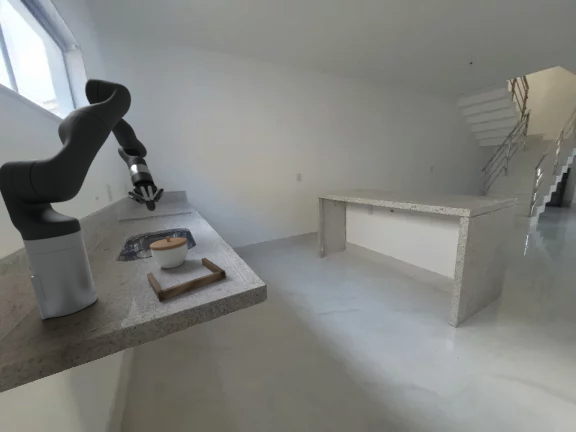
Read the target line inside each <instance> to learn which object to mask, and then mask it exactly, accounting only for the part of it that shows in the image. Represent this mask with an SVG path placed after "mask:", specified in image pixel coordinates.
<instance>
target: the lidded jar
mask: <svg viewBox="0 0 576 432" xmlns="http://www.w3.org/2000/svg"><path fill="white" fill-rule="evenodd" d="M149 249H150V253H151V256H152V259H153V261H154V262H155V263H156V264H157V265H158V266H160V267H161V268H163V269H173V268H176V267H179V266H181V265H182V264H183V262H184V261H185V260H186V258H187V256H188V240H187V238H186V237H182V236H181V237H170V236H166V237H165V238H164V239H160V240H156V241H154V242H152V243H150V244H149Z"/></svg>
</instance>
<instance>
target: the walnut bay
mask: <svg viewBox="0 0 576 432" xmlns="http://www.w3.org/2000/svg"><path fill="white" fill-rule="evenodd" d="M201 265H202V266H204V268H206V269H207V270H209V271H210V272H211V273H210V274H206V275H203V276H201V277H198V278H197V277H196V278H195V279H191V280H188V281H185V282H183V283H178V284H175V285H173V286H169V287H166V288H164V289H163V288H162V286H161V285H160V283H159V282H158V280H157V279H156V277H155V275H154V274H153V272H148V273H146V277H147V281H148V283H149V285H150V287H151V288H152V290H153V292H154V294H155V297H156V298H157V299H158V301H159V302H162V301H164V300H168V299H169V298H170V299H171V298H173V297H175V296H176V297H177V296H179V295H181V294H184V293H187V292H191V291H192V290H196V289H199V288H201V287H204V286H207V285H210V284H213V283H215V282H219V281H222V280H224V279H227V275H226V274H227V272H226V270H224V269H223V268H221V267H220V266H218V265H217V264H215V263H214V262H213V261H211V260H209V259H208V258H206V257H202V258H201Z"/></svg>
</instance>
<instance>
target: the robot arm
mask: <svg viewBox="0 0 576 432" xmlns="http://www.w3.org/2000/svg"><path fill="white" fill-rule="evenodd" d="M84 93H85V97H86V99H87V102H88V103H89V104H86V105H83V106H79V107H77V108H75V109H72V111H70V112H69V113H68V114H67V115H66V116H65V117H64V118H63V119H62V120H61V122H60V123H59V125H58V127H57V128H58V129H57V133H58V137H59V139H60V142H61V143H62V147H61V148H60V150H58V151H57V153H55V154H54V155H53V156H51V157H48V158H34V159H33V158H32V159H18V160H17V159H16V160H10V161H7V162H5V163H3V164H2V165H1V167H0V195H1V198H2V199H3V202H4V206H5V207H6V210H7V214H8V216H9V218H10V221H11V224H12V225H13V227H14V228H15V229H16V230H17V231H18V232H19V234H20V236H21V239H22V242H23V246H24V249H25V253H26V255H27V258H28V263H29V267H30V269H31V273H32V274H31V277H30V283H31V286H32V289H33V293H34V296H35V299H36V303H37V305H38V309H39V313H40V318H41V319H42V320H46V319H51V318H58V317H62V316H63V317H64V316H68V315H71V314H74V313H76V312H79V311H81V310H84V309H86V308H87V307H89V306H91V305H93V304H94V303H95V302H96V301H97V300H98V295H97V290H96V286H95V282H94V278H93V274H92V270H91V266H90V262H89V257H88V254H87V249H86V243H85V239H84V237H83V231H82V228H81V223H80V221H79V219H78V218H76V217H74V216H69V215H65V214H63V213H60V212H58V211H57V210H55V209H54V208H53V205H52V204H56V203H64V202H68V201H70V200H72V199H74V198H75V197H76V196H77V195H78V193H80V190H81V189H82V187H83V184H84V182H85V179H86V178H87V174H88V172H89V170H90V167H91V165H92V164H93V161H94V160H95V158H96V157H97V154H98V153H99V151H100V149H102V147H103V145H104V144H105V143H106V141H107V140H108V138H109V136H110V135H111V133H112V134H113V135H114V137H115V139H116V141H117V143H118V145H119V146H118V147H117V152H118V155H119V156H120V158H121V159H122V160H123V161H124V163H125V164H126V165H127V168H128V172H129V177H130V181H131V183H132V187H133V189H132V191H128V193H127V194H128V198H129V199H131V200H133V201H134V202H136V203H138V204H140V205H143V204H144V205H145V206H146V209H147V210H148V211H149V212H153V211H154V212H155V210H156V207H157V205H156V203H158V202H159V200H161V198H162V197H163V195H164V190H165V189H164V187H163V188H158V186H157V185H156V184H155V181H154V178H153V176H152V173H151V170H150V169H149V167H148V163H147V161H146V160H145V158H146V156H147V154H148V151H147V148H146V146H145V145H144V144H143V143H142V142H141V141H140V140H139V139H138V138H137V136H136V132H135V130H134V128H133V126H131V124H129V122H128V121H126V120H125V119H124V117H125V116H126V114H127V113H128V112H129V110H130V108H131V103H132V95H131V92H130V90H129V89H128V88H127V87H126V86H125V85H123V84H121V83H119V82H115V81H111V80H107V79H101V78H95V77H93V78H92V77H90V78H88V79H87V80H86V82H85V85H84Z"/></svg>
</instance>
